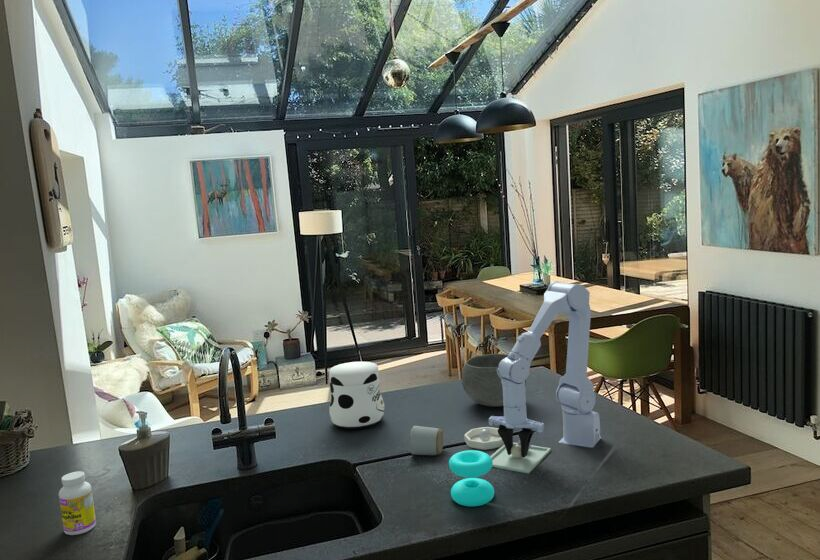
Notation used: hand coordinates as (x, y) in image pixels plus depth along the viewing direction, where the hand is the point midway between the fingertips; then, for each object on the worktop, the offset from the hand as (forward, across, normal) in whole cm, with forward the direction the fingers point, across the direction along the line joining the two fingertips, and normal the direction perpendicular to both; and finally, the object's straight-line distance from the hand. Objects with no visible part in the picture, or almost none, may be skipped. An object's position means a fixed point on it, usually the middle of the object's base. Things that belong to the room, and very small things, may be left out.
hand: (517, 454), depth 166 cm
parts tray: (+1, 0, 0) cm, 1 cm away
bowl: (+2, -24, +38) cm, 45 cm away
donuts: (+2, -1, -24) cm, 24 cm away
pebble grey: (+1, -12, +7) cm, 14 cm away
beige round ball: (+1, 0, 0) cm, 1 cm away
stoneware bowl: (+1, -12, +7) cm, 14 cm away
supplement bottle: (+2, -76, -74) cm, 106 cm away
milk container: (+2, -57, +6) cm, 57 cm away
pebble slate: (+1, 0, +5) cm, 5 cm away
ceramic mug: (+2, -25, -4) cm, 25 cm away
